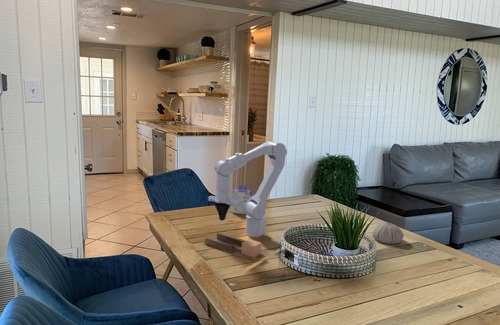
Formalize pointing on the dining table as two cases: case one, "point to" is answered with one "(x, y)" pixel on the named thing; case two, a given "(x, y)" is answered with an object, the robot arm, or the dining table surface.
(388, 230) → the sea urchin shell
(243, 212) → the ink cartridge box
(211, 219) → the dining table surface
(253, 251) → the terracotta block
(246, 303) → the dining table surface
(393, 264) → the dining table surface
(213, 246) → the taupe railed channel
